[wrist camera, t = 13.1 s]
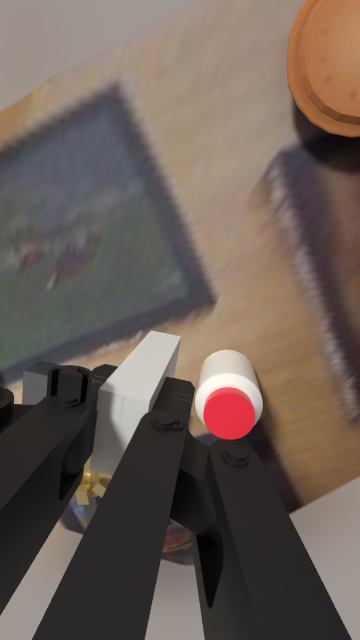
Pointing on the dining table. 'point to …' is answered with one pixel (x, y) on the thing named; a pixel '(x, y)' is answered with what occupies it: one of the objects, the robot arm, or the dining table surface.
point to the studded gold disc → (91, 490)
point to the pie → (327, 64)
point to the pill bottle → (228, 395)
